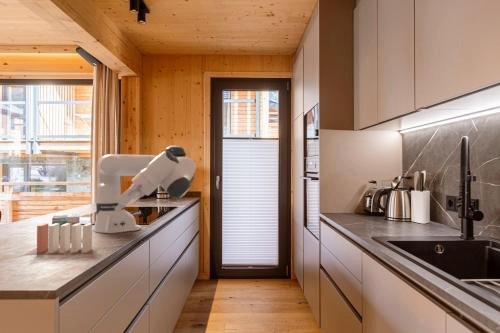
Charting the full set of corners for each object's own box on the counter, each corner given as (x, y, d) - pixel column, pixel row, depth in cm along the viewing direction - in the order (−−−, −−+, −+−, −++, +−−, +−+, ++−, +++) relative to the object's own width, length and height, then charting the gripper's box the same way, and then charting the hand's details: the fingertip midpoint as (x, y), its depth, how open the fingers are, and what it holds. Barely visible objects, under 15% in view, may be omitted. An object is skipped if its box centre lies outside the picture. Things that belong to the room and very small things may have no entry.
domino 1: (48, 249, 125) (48, 223, 125) (41, 253, 120) (41, 225, 120) (43, 249, 125) (44, 223, 125) (36, 253, 120) (37, 225, 120)
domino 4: (81, 249, 127) (81, 223, 127) (75, 252, 122) (76, 225, 122) (76, 249, 127) (77, 223, 127) (71, 252, 122) (71, 225, 122)
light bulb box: (51, 242, 141) (51, 217, 141) (52, 239, 147) (52, 215, 147) (79, 240, 146) (79, 216, 146) (79, 237, 152) (79, 214, 152)
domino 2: (59, 249, 126) (59, 223, 126) (52, 252, 121) (53, 225, 121) (54, 249, 126) (55, 223, 126) (48, 252, 121) (48, 225, 121)
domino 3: (70, 249, 126) (70, 223, 126) (64, 252, 121) (64, 225, 121) (65, 249, 126) (66, 223, 126) (59, 252, 121) (60, 225, 121)
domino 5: (91, 248, 127) (92, 223, 127) (87, 252, 122) (87, 225, 122) (87, 249, 127) (87, 223, 127) (82, 252, 122) (82, 225, 122)
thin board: (101, 249, 130) (101, 247, 130) (92, 256, 120) (92, 254, 120) (36, 250, 127) (36, 248, 127) (21, 257, 117) (22, 255, 117)
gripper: (143, 192, 117) (114, 220, 116) (153, 188, 137) (129, 211, 136) (130, 180, 116) (101, 207, 115) (142, 177, 137) (118, 201, 135)
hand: (116, 209), depth 126 cm, fingers closed
